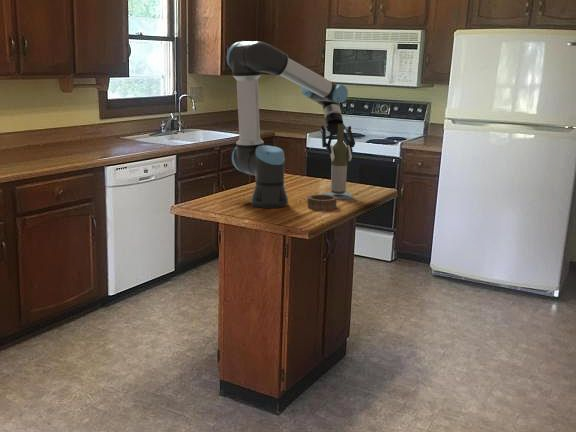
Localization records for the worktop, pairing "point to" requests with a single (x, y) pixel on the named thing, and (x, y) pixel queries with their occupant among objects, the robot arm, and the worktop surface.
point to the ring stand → (322, 202)
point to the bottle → (339, 164)
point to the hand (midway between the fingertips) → (341, 159)
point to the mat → (340, 195)
